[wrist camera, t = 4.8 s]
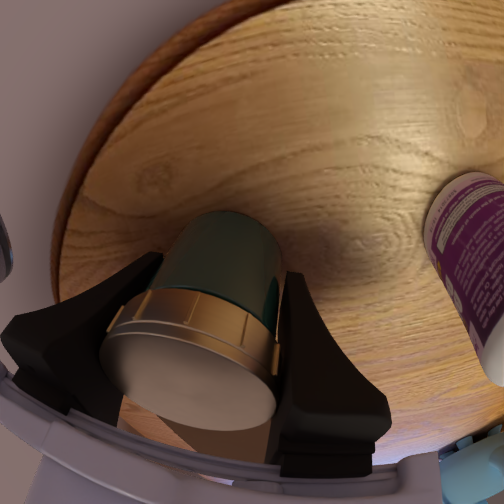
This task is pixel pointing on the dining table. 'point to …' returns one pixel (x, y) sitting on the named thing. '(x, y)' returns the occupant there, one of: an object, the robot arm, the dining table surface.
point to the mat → (226, 441)
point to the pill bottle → (472, 260)
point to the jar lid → (193, 360)
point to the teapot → (473, 470)
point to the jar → (226, 264)
